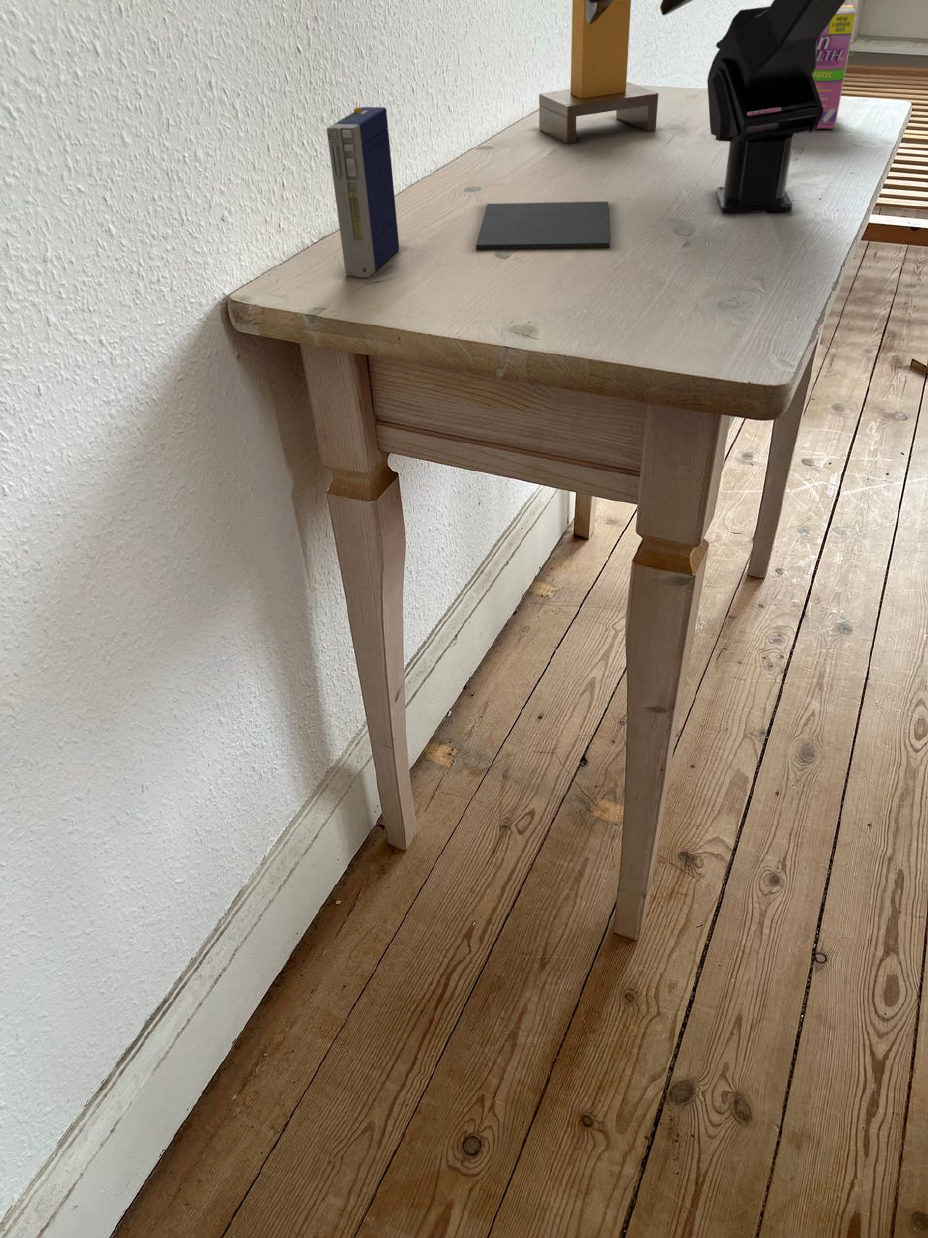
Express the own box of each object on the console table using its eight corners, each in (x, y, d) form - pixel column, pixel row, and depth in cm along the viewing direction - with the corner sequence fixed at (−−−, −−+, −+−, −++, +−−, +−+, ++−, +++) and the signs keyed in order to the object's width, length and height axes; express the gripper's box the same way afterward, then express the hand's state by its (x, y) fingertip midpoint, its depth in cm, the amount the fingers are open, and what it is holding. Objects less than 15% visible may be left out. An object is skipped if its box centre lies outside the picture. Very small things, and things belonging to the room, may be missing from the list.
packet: (626, 92, 113) (631, -7, 106) (581, 98, 111) (584, -2, 105) (614, 87, 115) (619, -10, 108) (570, 94, 113) (572, -5, 107)
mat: (609, 247, 84) (609, 242, 84) (476, 249, 85) (476, 244, 85) (607, 205, 93) (607, 201, 93) (487, 207, 94) (487, 203, 94)
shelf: (655, 129, 114) (658, 92, 112) (566, 143, 111) (567, 106, 109) (624, 116, 120) (626, 81, 117) (538, 129, 117) (539, 93, 115)
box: (743, 129, 112) (758, 13, 104) (744, 118, 116) (759, 5, 109) (835, 130, 110) (857, 11, 102) (832, 118, 114) (853, 3, 106)
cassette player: (376, 247, 87) (361, 102, 79) (400, 248, 86) (386, 103, 79) (344, 276, 82) (324, 124, 74) (369, 278, 81) (351, 125, 73)
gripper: (749, -191, 91) (678, -60, 106) (575, -180, 86) (527, -44, 101) (784, -86, 90) (707, 31, 105) (611, -69, 86) (557, 51, 101)
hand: (625, 15), depth 103 cm, fingers open, 9 cm apart
